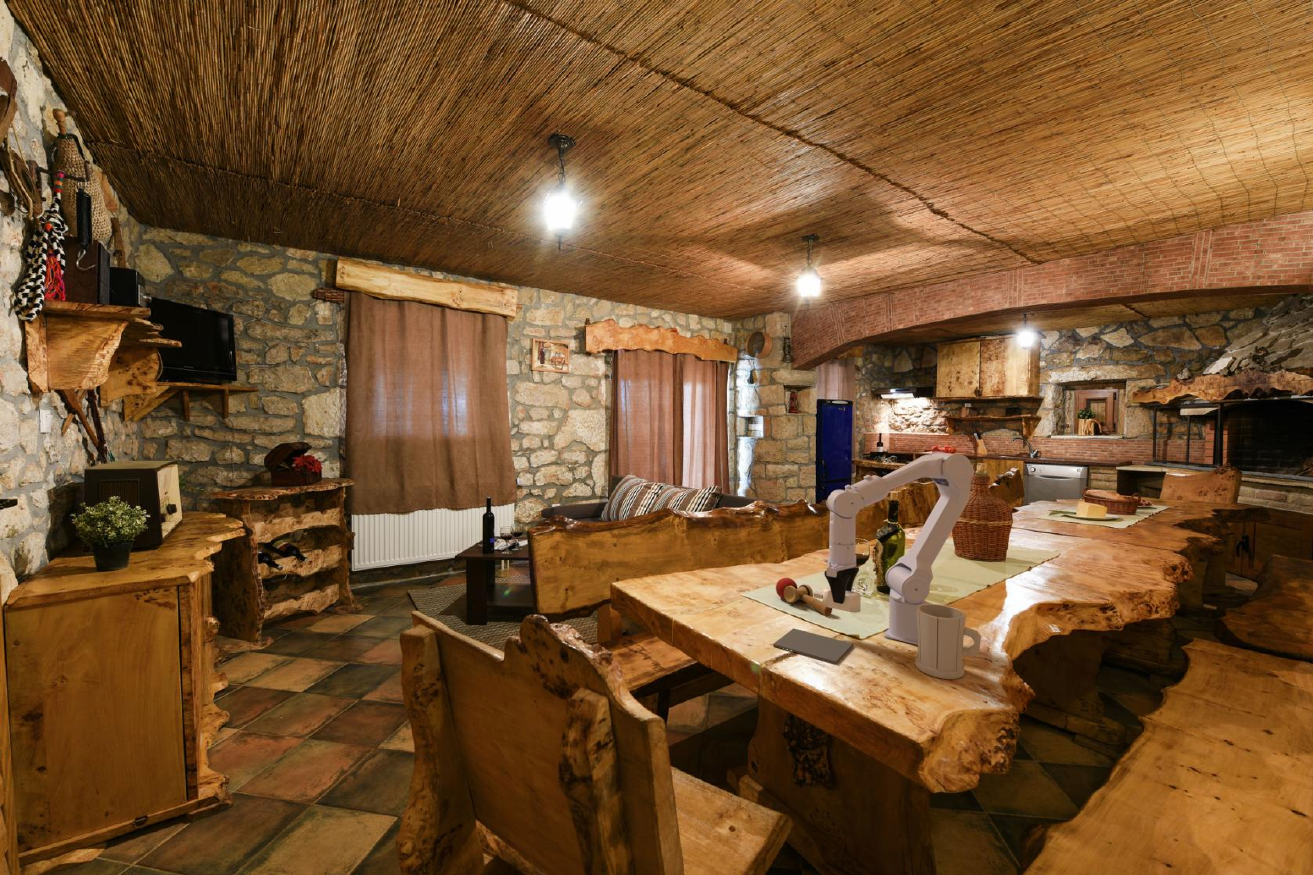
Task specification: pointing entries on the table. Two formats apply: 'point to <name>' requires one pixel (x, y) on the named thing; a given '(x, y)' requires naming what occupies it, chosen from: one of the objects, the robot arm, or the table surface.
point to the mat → (814, 645)
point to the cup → (943, 641)
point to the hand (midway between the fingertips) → (841, 600)
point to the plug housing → (850, 603)
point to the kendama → (800, 594)
